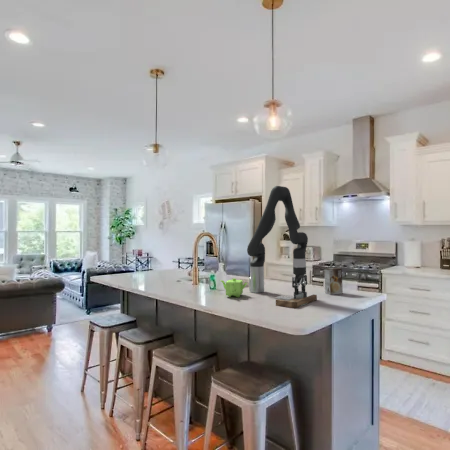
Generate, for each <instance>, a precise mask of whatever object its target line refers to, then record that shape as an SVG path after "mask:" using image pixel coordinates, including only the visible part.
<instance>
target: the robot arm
mask: <svg viewBox="0 0 450 450" xmlns="http://www.w3.org/2000/svg"><path fill="white" fill-rule="evenodd" d="M278 202H282V203H283V205H284V209H285V211H284V219H285V224H286V225H287V228H288V234H289V241H290V242H291V244H293V245H297V247H296V248H294V249H293V251H292V252H293V253H292V256H293V257H292V258H293V259H292V268H293V269H292V274H293V275H294V276H292V278H291V280H292V281H291V284H292V285H291V287H292V288H293V289H294V292H295V295H299V291H303V292H306V286H308V276H307V261H306V250H307V246H308V242H309V239H308V235H307V233H306V232H303V231H301V232H298V230H299V229H300V227H301V224H300V221H299V219H298V217H297V214H296V212H295V207H294V203H293V199H292V195H291V191H290V189H289V188H288V187H287V186H282V185H274V186H273V187H272V188H271V190H270V193H269V196H268V199H267V203H266V206H265V208H264V211H263V212H262V213H263V214H262V215H261V218H260V220H259V222H258V225H257V227H256V230H255V232H254V234H253V236H252V238H251V240H250V242H249V243H248V245H247V249H246V251H247V255H248V256H250V257H254V258H253V260H251V261H250V262H249V267H250V268H249V269H250V272H249V273H250V274H249V275H250V277H248V281H249V282H248V286H249V291H250V293H253V294H255V293H256V294H257V293H261V294H262V293H265V261H266V247H265V244H264V243H263V242H262V241H263V240H264V238H265V237H267V235H268V234H270V232H271V231H272V229H273V228H274V225H275V223H276V219H277V218H276V208H277V205H278ZM300 286H301V288H300ZM299 288H300V289H301V290H299Z"/></svg>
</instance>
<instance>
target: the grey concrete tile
mask: <svg viewBox="0 0 450 450" xmlns="http://www.w3.org/2000/svg"><path fill="white" fill-rule="evenodd" d="M293 298H294V296H290V295H282V294H281V295H278V296H275V297H274V299H279V300H290V299H293Z"/></svg>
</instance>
